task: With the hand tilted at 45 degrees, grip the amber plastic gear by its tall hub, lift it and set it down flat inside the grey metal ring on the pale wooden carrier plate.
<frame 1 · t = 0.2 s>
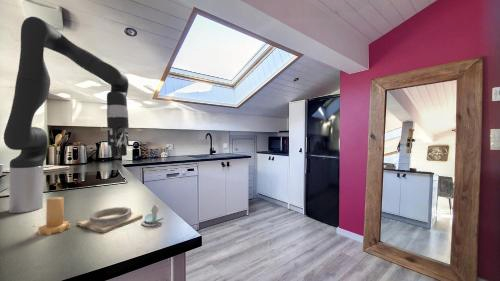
hand: (119, 156, 86), 22 cm above the table, tool pointing down, fingers open, 8 cm apart
carrier plate: (111, 221, 74), on the table
pacifier: (151, 224, 73), on the table
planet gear: (54, 229, 66), on the table
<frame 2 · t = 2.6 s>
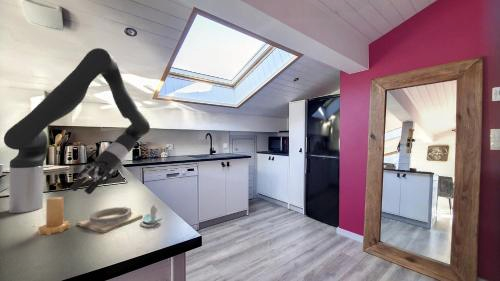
hand: (79, 191, 72), 11 cm above the table, tool tilted 45°, fingers open, 8 cm apart
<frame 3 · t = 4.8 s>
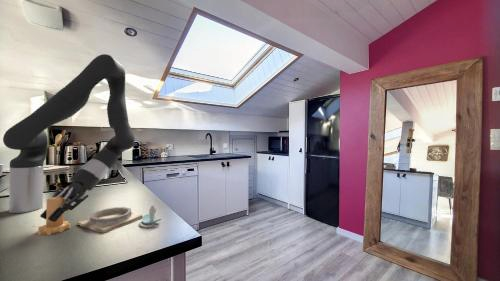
hand: (47, 219, 64), 4 cm above the table, tool tilted 45°, fingers closed on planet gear, 4 cm apart
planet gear: (54, 229, 66), on the table, touching gripper
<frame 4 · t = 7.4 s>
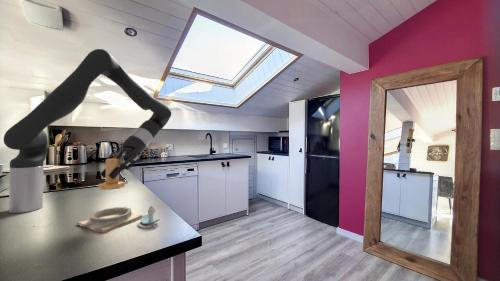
hand: (106, 176, 72), 16 cm above the table, tool tilted 45°, fingers closed on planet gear, 4 cm apart
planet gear: (112, 187, 73), point 12 cm above the table, touching gripper
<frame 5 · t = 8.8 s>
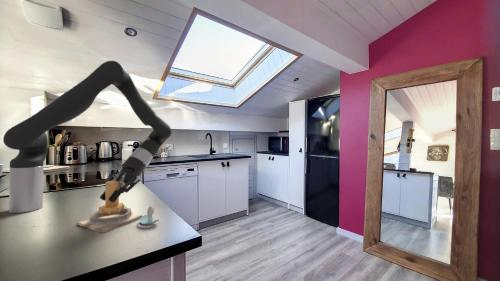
hand: (106, 200, 72), 8 cm above the table, tool tilted 45°, fingers closed on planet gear, 4 cm apart
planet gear: (112, 209, 74), point 4 cm above the table, touching gripper
when the fingers open (6 cm above the table, at t = 9.9 s): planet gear drops 1 cm, resting on carrier plate.
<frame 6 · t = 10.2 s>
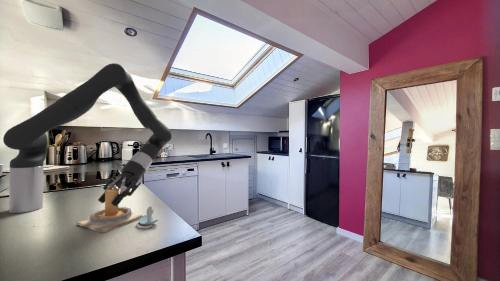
hand: (107, 203, 72), 7 cm above the table, tool tilted 45°, fingers open, 6 cm apart
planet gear: (111, 218, 74), point 1 cm above the table, touching carrier plate
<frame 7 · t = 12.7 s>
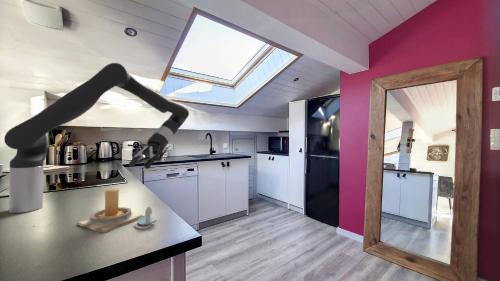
hand: (137, 166, 83), 18 cm above the table, tool tilted 45°, fingers open, 8 cm apart
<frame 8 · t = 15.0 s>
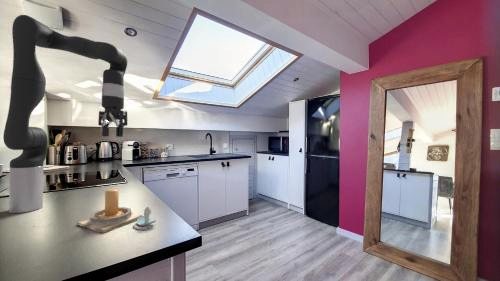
hand: (112, 136, 84), 30 cm above the table, tool pointing down, fingers open, 8 cm apart
at the end: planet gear 0.1 cm off-centre on the carrier plate, point 1.0 cm above the carrier plate's base; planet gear tilted 0°; the gripper is holding nothing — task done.
